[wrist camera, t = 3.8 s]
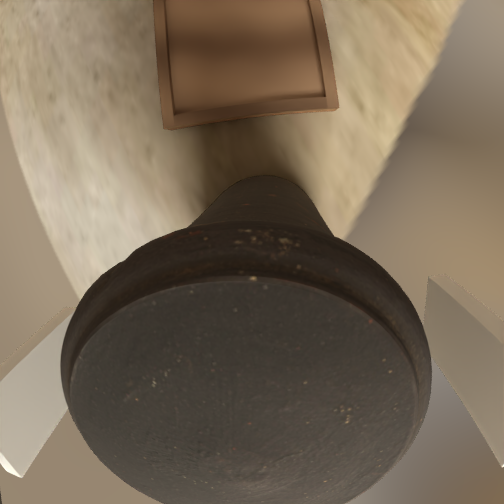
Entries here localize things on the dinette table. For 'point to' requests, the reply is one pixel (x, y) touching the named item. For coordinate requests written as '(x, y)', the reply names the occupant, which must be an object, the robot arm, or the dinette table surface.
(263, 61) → the square wooden tray
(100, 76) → the dinette table surface
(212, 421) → the container
